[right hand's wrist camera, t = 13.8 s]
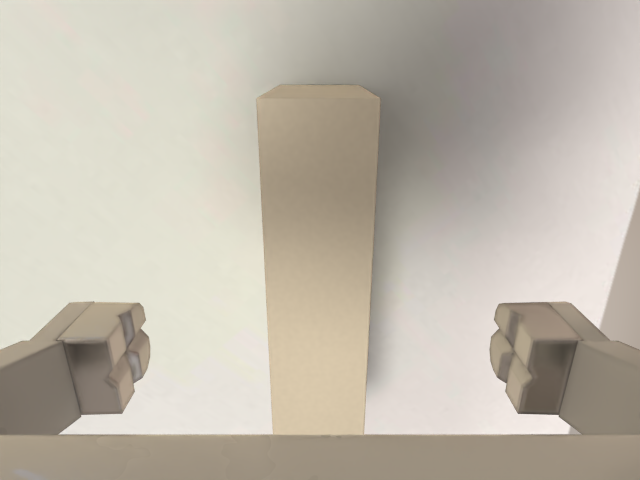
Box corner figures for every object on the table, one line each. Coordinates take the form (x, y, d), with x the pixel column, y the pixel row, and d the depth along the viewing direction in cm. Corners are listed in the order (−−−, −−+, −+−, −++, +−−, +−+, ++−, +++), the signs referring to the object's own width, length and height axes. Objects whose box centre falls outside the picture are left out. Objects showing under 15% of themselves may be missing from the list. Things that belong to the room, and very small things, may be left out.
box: (278, 84, 31) (256, 97, 20) (359, 84, 31) (381, 97, 20) (287, 378, 41) (276, 496, 30) (349, 379, 41) (360, 496, 30)
